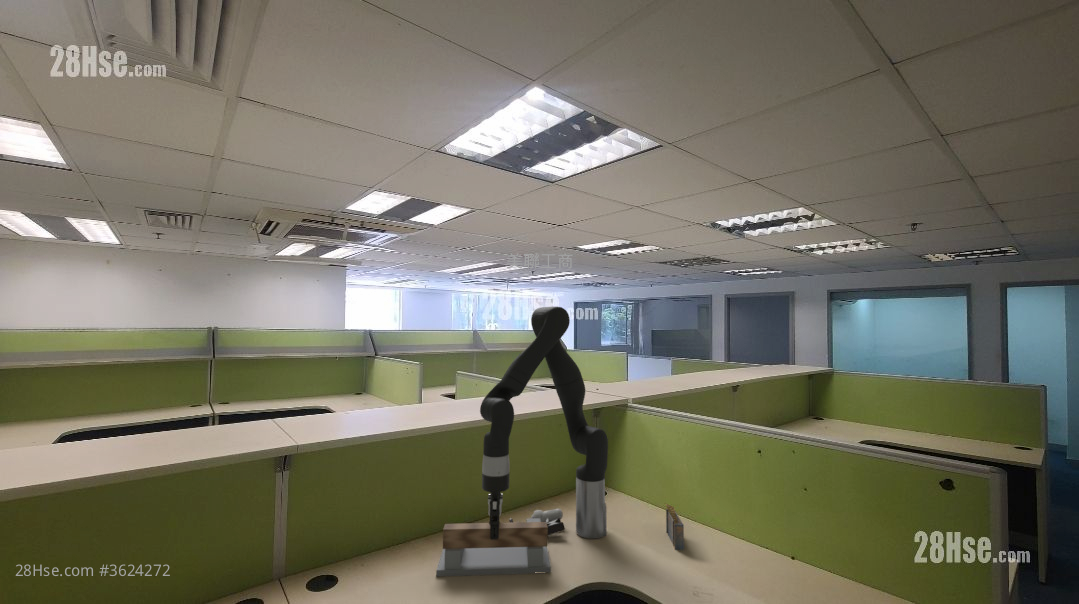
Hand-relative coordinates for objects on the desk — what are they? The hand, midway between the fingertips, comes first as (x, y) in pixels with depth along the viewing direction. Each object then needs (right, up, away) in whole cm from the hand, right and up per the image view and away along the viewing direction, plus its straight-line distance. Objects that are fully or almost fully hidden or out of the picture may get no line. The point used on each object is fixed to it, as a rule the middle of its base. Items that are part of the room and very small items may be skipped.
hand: (494, 531), depth 119 cm
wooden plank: (0, -3, 0) cm, 3 cm away
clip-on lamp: (+11, -12, +22) cm, 27 cm away
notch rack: (0, -10, +2) cm, 10 cm away
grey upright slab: (+54, -12, +16) cm, 57 cm away
